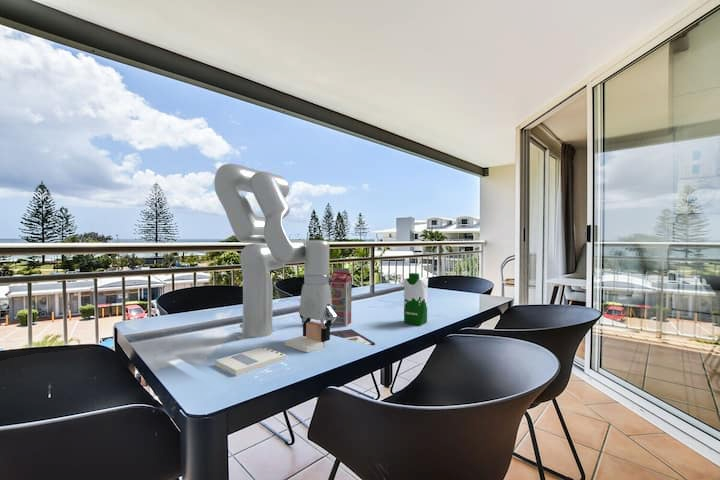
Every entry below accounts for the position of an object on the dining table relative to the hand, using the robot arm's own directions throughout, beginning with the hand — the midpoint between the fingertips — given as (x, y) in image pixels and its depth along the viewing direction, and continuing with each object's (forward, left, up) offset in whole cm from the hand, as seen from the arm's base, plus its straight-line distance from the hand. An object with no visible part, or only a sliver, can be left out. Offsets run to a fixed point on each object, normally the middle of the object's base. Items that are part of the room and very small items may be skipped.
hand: (316, 337), depth 101 cm
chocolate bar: (+2, +14, -4) cm, 14 cm away
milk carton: (+7, +48, -3) cm, 48 cm away
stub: (0, -3, -1) cm, 4 cm away
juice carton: (-14, +26, -3) cm, 30 cm away
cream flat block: (0, -22, -2) cm, 22 cm away
